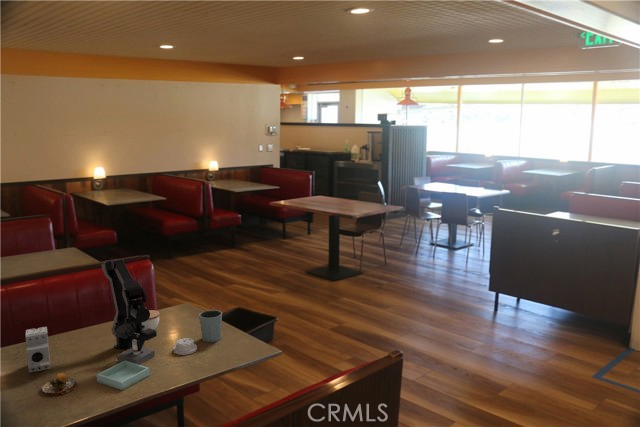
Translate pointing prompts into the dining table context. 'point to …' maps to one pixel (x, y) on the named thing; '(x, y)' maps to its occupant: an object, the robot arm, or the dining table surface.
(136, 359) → the socket block
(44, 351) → the circuit breaker
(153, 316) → the lidded jar
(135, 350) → the cylinder
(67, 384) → the plate of food
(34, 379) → the dining table surface
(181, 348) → the mechanical component
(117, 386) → the parts tray
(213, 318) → the blue-grey cup
